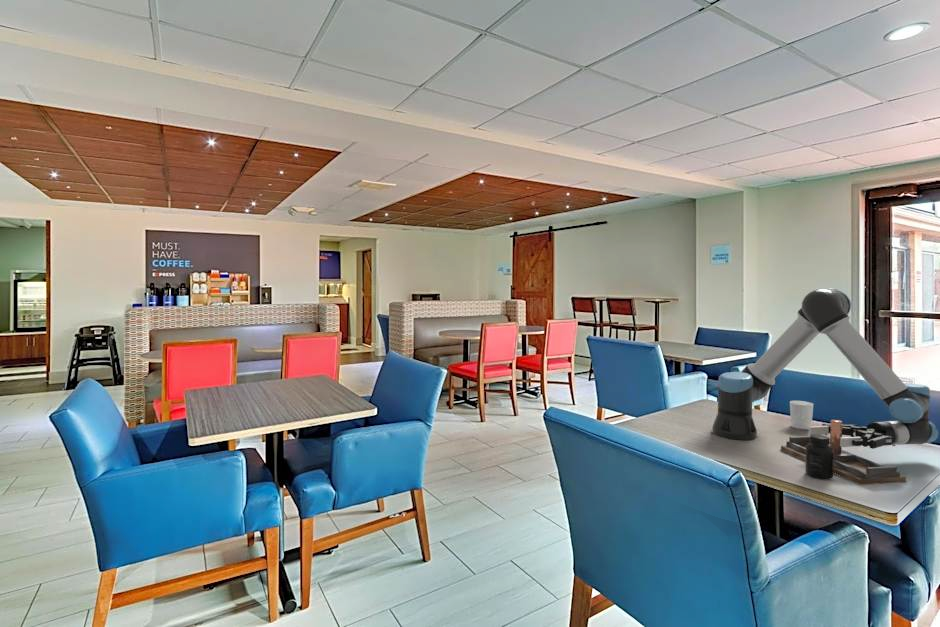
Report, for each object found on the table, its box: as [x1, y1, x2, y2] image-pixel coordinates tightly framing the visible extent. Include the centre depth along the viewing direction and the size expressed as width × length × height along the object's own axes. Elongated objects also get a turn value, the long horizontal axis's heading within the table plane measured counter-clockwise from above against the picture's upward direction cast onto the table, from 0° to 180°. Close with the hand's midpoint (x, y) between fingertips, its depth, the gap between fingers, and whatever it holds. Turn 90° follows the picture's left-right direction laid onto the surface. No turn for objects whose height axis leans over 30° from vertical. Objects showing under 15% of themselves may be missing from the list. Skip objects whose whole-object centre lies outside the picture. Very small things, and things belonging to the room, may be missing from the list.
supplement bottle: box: [804, 434, 834, 480], centre depth 145 cm, size 7×7×12 cm
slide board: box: [780, 435, 907, 485], centre depth 154 cm, size 30×15×4 cm, turn 6°
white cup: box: [789, 400, 814, 430], centre depth 195 cm, size 8×8×10 cm
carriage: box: [829, 419, 856, 462], centre depth 155 cm, size 7×7×12 cm
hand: (824, 436), depth 154 cm, fingers open, 11 cm apart
